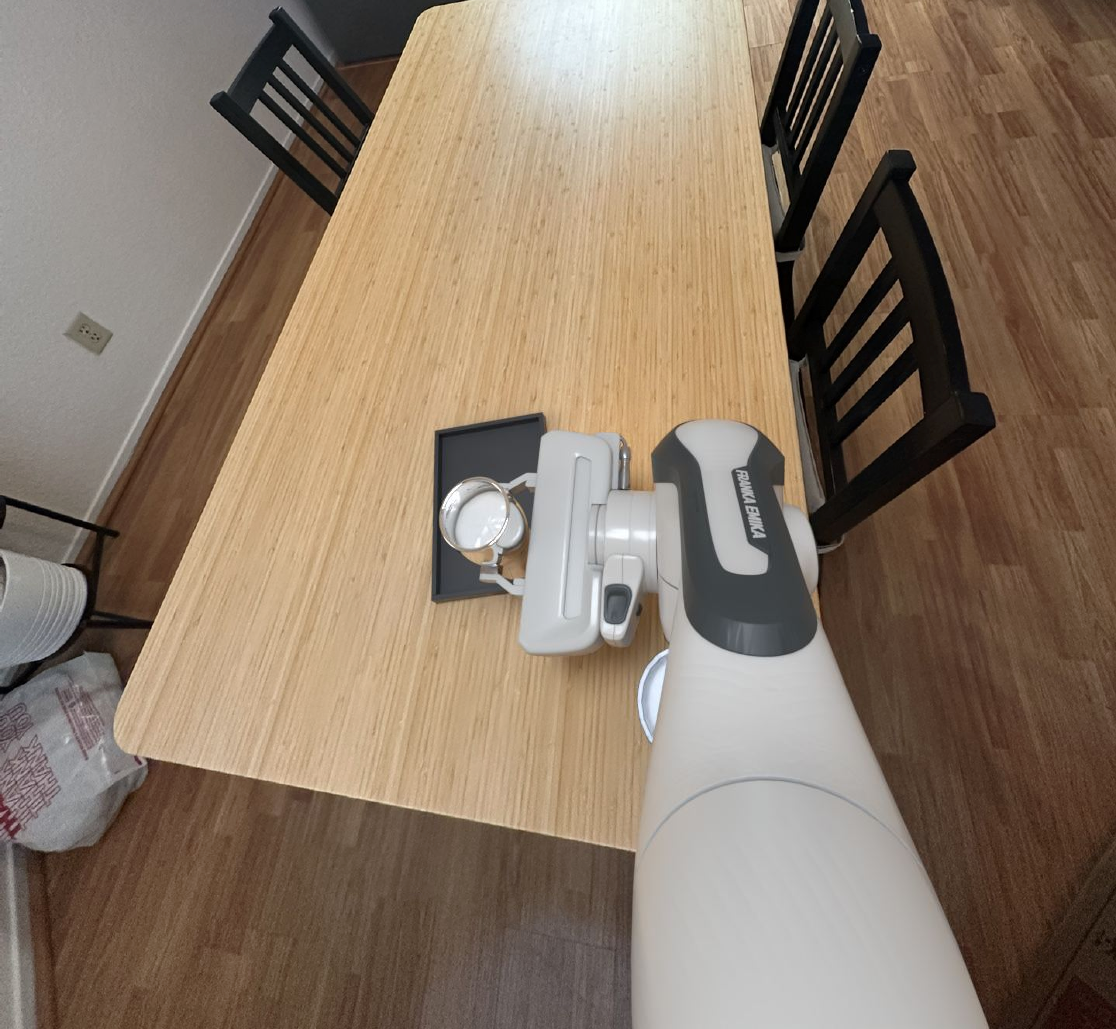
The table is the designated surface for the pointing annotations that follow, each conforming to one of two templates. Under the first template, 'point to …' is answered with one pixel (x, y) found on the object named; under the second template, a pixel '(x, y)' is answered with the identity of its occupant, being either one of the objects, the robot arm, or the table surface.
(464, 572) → the tray
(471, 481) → the silver goblet
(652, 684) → the bowl
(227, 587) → the table surface
